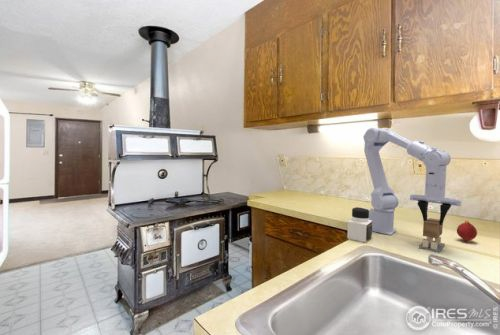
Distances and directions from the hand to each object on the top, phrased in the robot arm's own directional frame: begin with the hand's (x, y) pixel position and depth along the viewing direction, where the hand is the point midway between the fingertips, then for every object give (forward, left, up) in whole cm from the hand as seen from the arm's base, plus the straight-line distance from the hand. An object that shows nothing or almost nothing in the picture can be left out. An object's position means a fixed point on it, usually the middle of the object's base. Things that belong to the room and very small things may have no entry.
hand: (433, 222), depth 90 cm
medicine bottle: (-22, -10, -9) cm, 25 cm away
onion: (+8, +16, -9) cm, 20 cm away
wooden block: (0, 0, -4) cm, 4 cm away
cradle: (0, 0, -9) cm, 9 cm away
